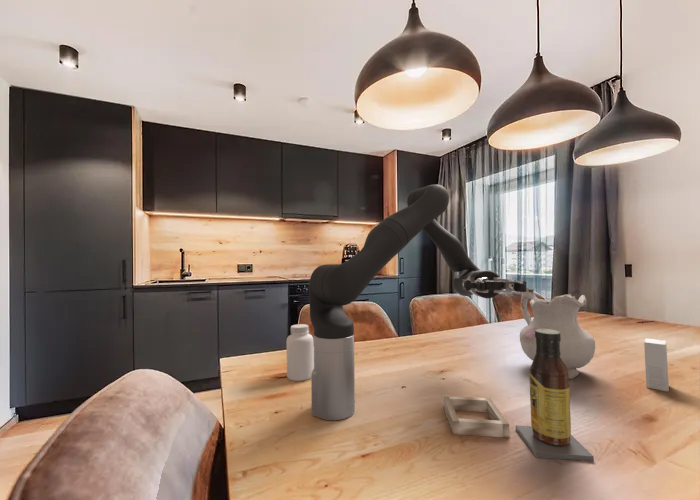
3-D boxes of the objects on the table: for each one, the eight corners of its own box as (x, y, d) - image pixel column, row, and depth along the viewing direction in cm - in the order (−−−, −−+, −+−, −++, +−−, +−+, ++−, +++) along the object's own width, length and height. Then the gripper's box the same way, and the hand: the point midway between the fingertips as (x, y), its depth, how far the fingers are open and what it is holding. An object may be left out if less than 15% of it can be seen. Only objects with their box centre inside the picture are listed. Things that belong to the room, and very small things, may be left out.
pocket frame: (453, 434, 61) (452, 420, 61) (443, 407, 72) (443, 396, 72) (509, 437, 60) (509, 424, 60) (490, 409, 71) (490, 398, 71)
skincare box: (646, 381, 87) (644, 337, 87) (668, 385, 84) (666, 340, 84) (645, 387, 82) (643, 341, 83) (669, 392, 79) (666, 344, 80)
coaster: (536, 457, 54) (536, 452, 54) (515, 429, 62) (515, 425, 63) (593, 461, 52) (593, 456, 52) (564, 432, 61) (564, 428, 61)
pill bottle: (281, 377, 92) (281, 326, 93) (302, 370, 98) (302, 322, 99) (297, 384, 87) (297, 329, 88) (319, 376, 93) (319, 325, 93)
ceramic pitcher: (501, 368, 101) (496, 292, 101) (535, 354, 111) (530, 284, 111) (577, 392, 83) (570, 298, 82) (609, 372, 92) (603, 289, 92)
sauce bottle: (534, 425, 62) (531, 325, 63) (572, 436, 58) (569, 329, 59) (528, 440, 57) (525, 331, 58) (570, 453, 53) (565, 335, 54)
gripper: (456, 270, 89) (470, 270, 73) (509, 270, 87) (535, 271, 71) (456, 296, 89) (470, 302, 73) (509, 297, 87) (536, 304, 71)
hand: (502, 287), depth 72 cm, fingers open, 8 cm apart
